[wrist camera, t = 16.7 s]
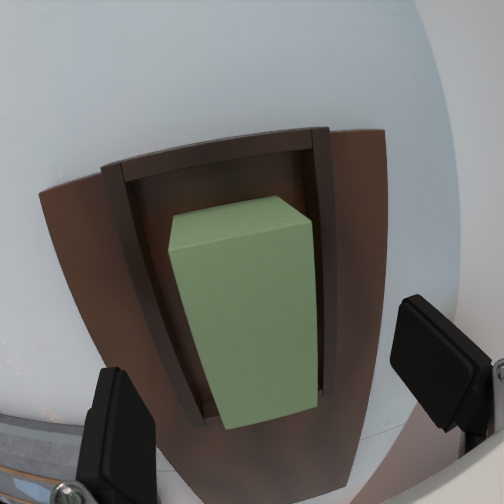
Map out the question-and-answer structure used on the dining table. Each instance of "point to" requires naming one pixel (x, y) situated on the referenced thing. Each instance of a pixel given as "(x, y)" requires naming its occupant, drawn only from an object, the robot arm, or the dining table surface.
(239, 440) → the recessed wooden panel
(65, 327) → the dining table surface
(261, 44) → the dining table surface
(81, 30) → the dining table surface
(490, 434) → the robot arm
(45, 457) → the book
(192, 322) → the pad block
